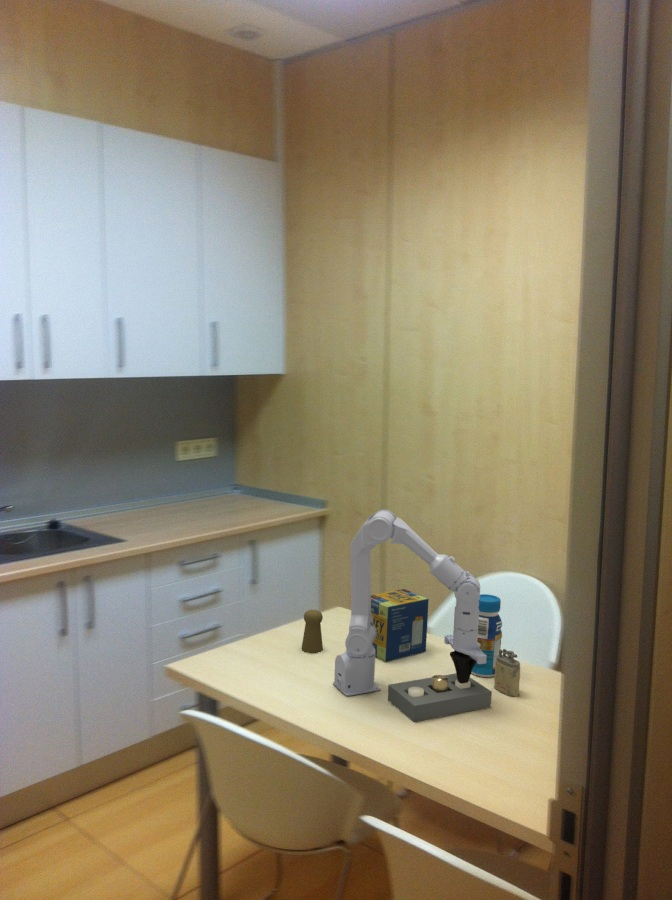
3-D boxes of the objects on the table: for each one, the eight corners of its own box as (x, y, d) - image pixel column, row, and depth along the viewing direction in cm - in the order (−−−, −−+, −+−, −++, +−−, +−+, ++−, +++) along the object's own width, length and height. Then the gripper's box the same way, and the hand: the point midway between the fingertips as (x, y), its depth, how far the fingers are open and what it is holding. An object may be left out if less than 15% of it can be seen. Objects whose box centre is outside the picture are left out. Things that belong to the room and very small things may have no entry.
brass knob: (437, 699, 176) (438, 681, 176) (428, 693, 180) (429, 676, 179) (450, 697, 178) (451, 679, 177) (441, 691, 181) (442, 673, 181)
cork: (322, 653, 207) (323, 614, 206) (300, 653, 208) (301, 614, 206) (323, 645, 213) (324, 607, 212) (301, 645, 214) (303, 607, 212)
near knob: (412, 712, 174) (413, 694, 173) (404, 705, 177) (405, 687, 177) (426, 709, 175) (426, 691, 175) (417, 703, 179) (418, 685, 178)
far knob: (460, 703, 179) (460, 685, 179) (451, 697, 183) (452, 680, 182) (472, 700, 181) (473, 683, 180) (463, 694, 184) (464, 677, 184)
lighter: (521, 695, 185) (524, 655, 184) (510, 698, 183) (513, 658, 182) (500, 684, 191) (503, 646, 190) (489, 687, 189) (492, 648, 188)
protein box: (360, 650, 211) (362, 596, 209) (402, 640, 220) (404, 588, 218) (385, 663, 203) (387, 606, 201) (427, 651, 212) (429, 597, 210)
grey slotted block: (413, 722, 169) (414, 705, 169) (387, 700, 180) (388, 684, 179) (490, 707, 178) (491, 691, 178) (461, 686, 189) (462, 672, 188)
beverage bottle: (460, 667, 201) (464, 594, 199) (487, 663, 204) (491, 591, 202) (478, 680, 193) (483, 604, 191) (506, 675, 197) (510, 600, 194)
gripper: (498, 635, 175) (495, 691, 176) (462, 615, 188) (459, 668, 189) (473, 639, 172) (470, 696, 173) (438, 619, 185) (435, 672, 186)
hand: (463, 682), depth 181 cm, fingers closed, pressing on far knob
